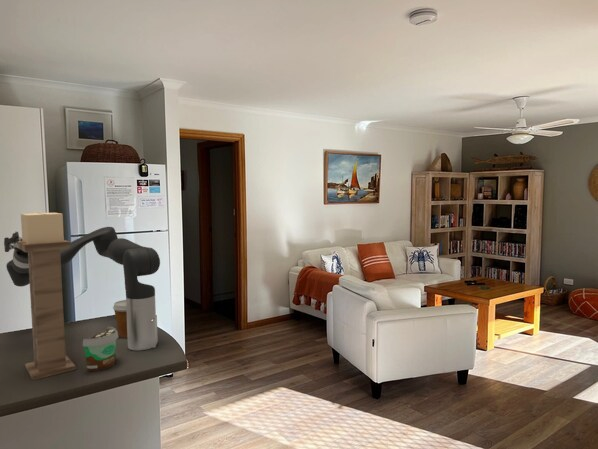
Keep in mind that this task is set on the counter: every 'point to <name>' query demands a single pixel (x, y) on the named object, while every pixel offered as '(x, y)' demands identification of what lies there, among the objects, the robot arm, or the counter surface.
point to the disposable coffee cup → (121, 317)
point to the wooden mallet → (42, 228)
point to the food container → (101, 350)
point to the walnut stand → (47, 309)
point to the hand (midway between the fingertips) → (33, 233)
